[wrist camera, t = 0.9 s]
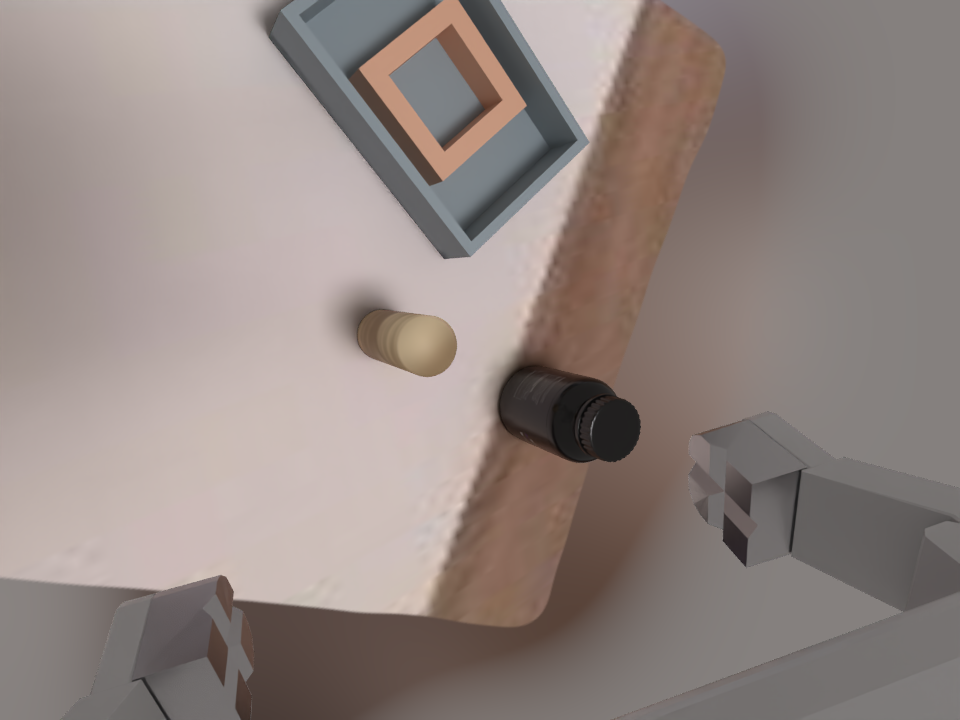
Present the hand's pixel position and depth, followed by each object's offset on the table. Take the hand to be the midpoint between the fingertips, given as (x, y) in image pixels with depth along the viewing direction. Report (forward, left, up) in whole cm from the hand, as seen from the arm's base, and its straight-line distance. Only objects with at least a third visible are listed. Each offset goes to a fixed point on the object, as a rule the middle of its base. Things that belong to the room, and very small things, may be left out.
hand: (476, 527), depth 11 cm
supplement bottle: (+21, +14, -40) cm, 47 cm away
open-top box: (-4, +23, -39) cm, 46 cm away
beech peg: (+7, +8, -39) cm, 41 cm away
